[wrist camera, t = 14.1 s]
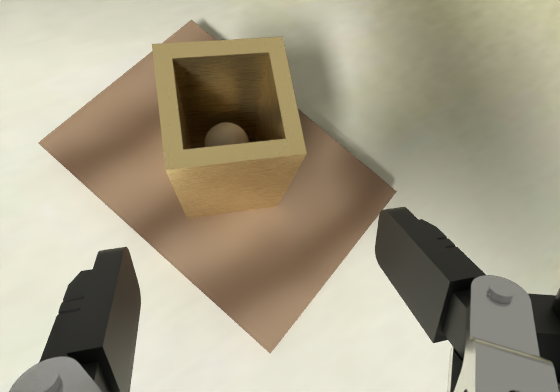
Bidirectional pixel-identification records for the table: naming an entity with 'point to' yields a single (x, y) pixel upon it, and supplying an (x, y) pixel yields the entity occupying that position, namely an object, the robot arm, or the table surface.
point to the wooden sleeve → (232, 109)
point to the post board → (232, 226)
